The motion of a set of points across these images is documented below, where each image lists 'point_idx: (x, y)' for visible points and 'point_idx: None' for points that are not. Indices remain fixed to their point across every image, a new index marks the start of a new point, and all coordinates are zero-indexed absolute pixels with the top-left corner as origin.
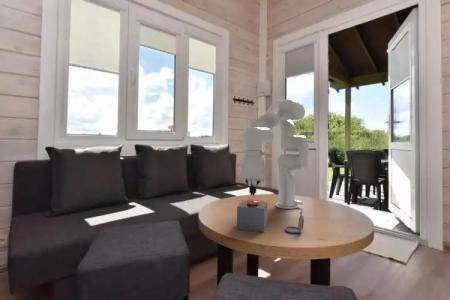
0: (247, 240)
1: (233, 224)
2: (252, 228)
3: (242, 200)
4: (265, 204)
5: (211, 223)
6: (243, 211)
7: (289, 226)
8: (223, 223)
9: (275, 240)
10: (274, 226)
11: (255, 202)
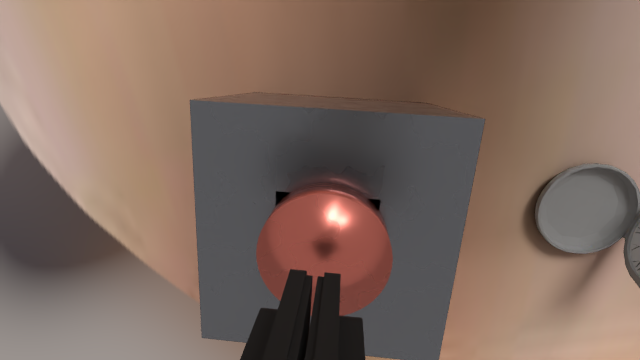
0: None
1: None
2: None
3: (190, 104)
4: (455, 225)
5: (87, 171)
6: None
7: (578, 169)
8: (152, 156)
9: (457, 338)
10: None
11: (355, 309)
